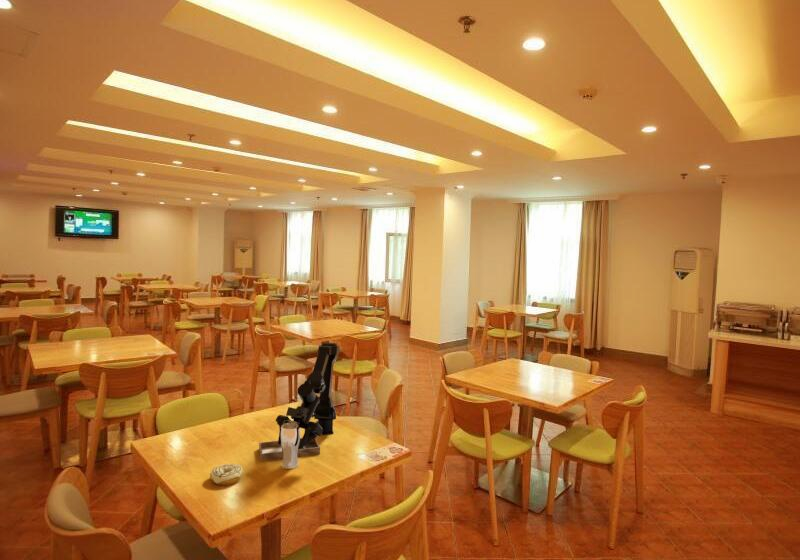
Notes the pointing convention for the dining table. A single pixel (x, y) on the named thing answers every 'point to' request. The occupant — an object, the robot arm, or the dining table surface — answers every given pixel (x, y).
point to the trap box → (275, 452)
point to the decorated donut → (226, 474)
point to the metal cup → (290, 444)
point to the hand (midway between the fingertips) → (288, 446)
